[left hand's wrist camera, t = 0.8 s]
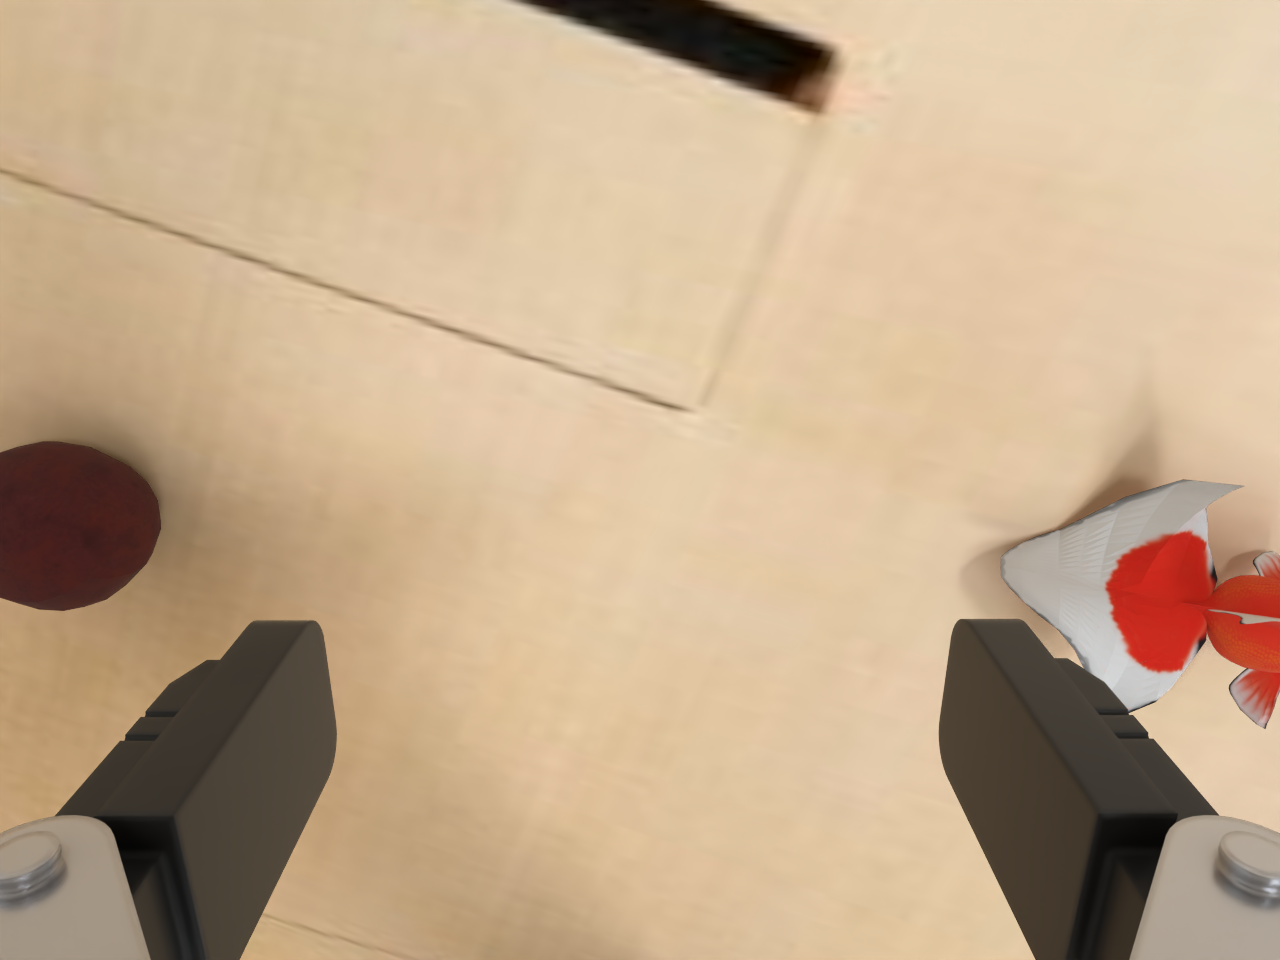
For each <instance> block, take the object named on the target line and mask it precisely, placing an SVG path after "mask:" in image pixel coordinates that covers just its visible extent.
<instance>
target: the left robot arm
mask: <svg viewBox="0 0 1280 960" xmlns="http://www.w3.org/2000/svg"><path fill="white" fill-rule="evenodd" d="M125 736H126V737H125V741H120V742H119V743H118V744H117V745H116V746H115V747H114V749H113V750H112V751H111V752H110V753H109V754H108V755H107V757H106V758H105V759H104V760H103V761H102V762H101V764H100V765H99V766H98V767H97V768H96V769H95V770H94V772H93V773H92V774H91V775H90V776H89V777H88V779H87V780H86V781H85V782H84V783H83V784H82V785H81V787H80V788H79V789H78V790H77V791H76V792H75V794H74V795H73V796H72V797H71V798H70V799H69V800H68V802H67V803H66V804H65V805H64V806H63V807H62V808H61V810H60V811H59V812H58V813H57V814H56V815H55V817H48V818H44V819H40V820H35V821H32V822H29V823H25V824H22V825H19V826H17V827H14V828H12V829H9V830H7V831H4V832H2V833H0V960H240V958H241V956H242V954H243V952H244V949H245V947H246V945H247V943H248V941H249V939H250V937H251V935H252V933H253V931H254V929H255V927H256V925H257V923H258V921H259V919H260V917H261V915H262V913H263V911H264V909H265V907H266V905H267V903H268V900H269V898H270V896H271V894H272V892H273V890H274V888H275V886H276V884H277V882H278V880H279V878H280V876H281V874H282V872H283V870H284V868H285V866H286V864H287V862H288V860H289V858H290V856H291V853H292V851H293V849H294V847H295V845H296V843H297V841H298V839H299V837H300V835H301V833H302V831H303V829H304V827H305V825H306V823H307V821H308V819H309V817H310V815H311V813H312V811H313V809H314V807H315V804H316V802H317V800H318V798H319V796H320V794H321V792H322V790H323V788H324V786H325V784H326V782H327V780H328V778H329V775H330V773H331V770H332V766H333V762H334V757H335V751H336V739H337V730H336V720H335V713H334V706H333V698H332V691H331V684H330V677H329V670H328V663H327V656H326V649H325V642H324V636H323V632H322V629H321V627H320V625H319V624H318V623H317V622H316V621H253V622H252V623H250V624H249V625H248V626H247V628H246V629H245V630H244V631H243V632H242V634H241V635H240V636H239V637H238V639H237V640H236V641H235V642H234V644H233V645H232V646H231V647H230V649H229V650H228V651H227V652H226V653H225V655H224V656H223V657H222V658H221V660H206V661H205V662H203V663H202V664H200V665H199V666H197V667H195V668H194V669H192V670H191V671H189V672H188V673H186V674H184V675H183V676H181V677H180V678H178V679H176V680H175V681H173V682H172V683H170V684H169V685H168V686H167V687H166V689H165V690H164V691H163V692H162V693H161V694H160V696H159V697H158V698H157V699H156V700H155V701H154V702H153V704H152V705H151V706H150V707H149V708H148V709H147V711H146V715H145V717H140V719H139V720H138V721H137V722H136V723H135V724H134V726H133V727H132V728H131V729H130V730H129V731H128V732H127V734H126V735H125ZM939 746H940V753H941V759H942V763H943V767H944V770H945V773H946V775H947V777H948V780H949V782H950V784H951V786H952V788H953V790H954V792H955V794H956V796H957V798H958V800H959V802H960V804H961V806H962V808H963V811H964V813H965V815H966V817H967V819H968V821H969V823H970V825H971V827H972V829H973V831H974V833H975V835H976V837H977V839H978V842H979V844H980V846H981V848H982V850H983V852H984V854H985V856H986V858H987V860H988V862H989V864H990V866H991V868H992V871H993V873H994V875H995V877H996V879H997V881H998V883H999V885H1000V887H1001V889H1002V891H1003V893H1004V895H1005V897H1006V899H1007V902H1008V904H1009V906H1010V908H1011V910H1012V912H1013V914H1014V916H1015V918H1016V920H1017V922H1018V924H1019V926H1020V928H1021V930H1022V933H1023V935H1024V937H1025V939H1026V941H1027V943H1028V945H1029V947H1030V949H1031V951H1032V953H1033V955H1034V957H1035V959H1036V960H1280V833H1278V832H1276V831H1273V830H1271V829H1268V828H1266V827H1263V826H1261V825H1258V824H1255V823H1251V822H1248V821H1245V820H1240V819H1236V818H1232V817H1225V816H1219V815H1218V813H1217V812H1216V811H1215V810H1214V809H1213V808H1212V806H1211V805H1210V804H1209V803H1208V802H1207V801H1206V799H1205V798H1204V797H1203V796H1202V795H1201V794H1200V792H1199V791H1198V790H1197V789H1196V788H1195V787H1194V785H1193V784H1192V783H1191V782H1190V781H1189V780H1188V778H1187V777H1186V776H1185V775H1184V774H1183V773H1182V772H1181V770H1180V769H1179V768H1178V767H1177V766H1176V765H1175V763H1174V762H1173V761H1172V760H1171V759H1170V758H1169V756H1168V755H1167V754H1166V753H1165V752H1164V751H1163V749H1162V748H1161V747H1160V746H1159V745H1158V744H1157V742H1156V741H1155V740H1154V739H1149V737H1148V732H1147V731H1146V730H1145V728H1144V727H1143V726H1142V725H1141V724H1140V723H1139V721H1138V720H1137V719H1136V718H1135V717H1134V716H1133V715H1129V714H1128V709H1127V708H1126V706H1125V705H1124V704H1123V703H1122V702H1121V701H1120V699H1119V698H1118V697H1117V696H1116V695H1115V694H1114V692H1113V691H1112V690H1111V689H1110V688H1109V687H1108V685H1107V684H1106V683H1105V682H1104V681H1102V680H1101V679H1099V678H1097V677H1096V676H1094V675H1093V674H1091V673H1090V672H1088V671H1086V670H1085V669H1083V668H1082V667H1080V666H1079V665H1077V664H1075V663H1074V662H1072V661H1071V660H1069V659H1068V658H1053V656H1052V655H1051V654H1050V653H1049V651H1048V650H1047V649H1046V648H1045V646H1044V645H1043V644H1042V643H1041V641H1040V640H1039V639H1038V638H1037V636H1036V635H1035V634H1034V633H1033V631H1032V630H1031V629H1030V628H1029V626H1028V625H1027V624H1026V623H1025V622H1024V621H1022V620H1020V619H960V620H959V621H957V623H956V624H955V626H954V628H953V632H952V636H951V642H950V649H949V656H948V664H947V671H946V678H945V685H944V692H943V700H942V707H941V714H940V722H939Z"/></svg>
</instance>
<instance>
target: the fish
mask: <svg viewBox="0 0 1280 960" xmlns="http://www.w3.org/2000/svg"><path fill="white" fill-rule="evenodd" d="M1241 487H1244V486H1240V485H1231V484H1221V483H1212V482H1203V481H1193V480H1184V479H1183V480H1180V481H1176V482H1173V483H1170V484H1166V485H1163V486H1160V487H1157V488H1153V489H1150V490H1147V491H1143V492H1140V493H1137V494H1134V495H1130V496H1127V497H1125V498H1123V499H1121V500H1118V501H1116V502H1114V503H1112V504H1110V505H1108V506H1106V507H1104V508H1102V509H1100V510H1098V511H1096V512H1094V513H1092V514H1090V515H1088V516H1086V517H1084V518H1082V519H1080V520H1078V521H1076V522H1074V523H1072V524H1070V525H1068V526H1066V527H1064V528H1062V529H1060V530H1057V531H1053V532H1050V533H1047V534H1043V535H1040V536H1037V537H1035V538H1033V539H1030V540H1028V541H1025V542H1023V543H1021V544H1019V545H1017V546H1015V547H1014V548H1012V549H1010V550H1008V551H1007V552H1006V553H1005V554H1004V555H1003V556H1002V557H1001V577H1002V578H1003V580H1004V581H1005V582H1006V584H1007V585H1008V586H1009V588H1010V589H1011V590H1012V591H1013V592H1014V593H1015V594H1016V595H1017V596H1018V597H1019V598H1020V599H1021V600H1022V601H1023V602H1025V603H1026V604H1027V605H1028V606H1029V607H1030V608H1031V609H1033V610H1034V611H1035V612H1036V613H1037V614H1038V615H1039V616H1041V617H1042V618H1043V619H1045V620H1046V621H1047V622H1048V623H1050V624H1051V625H1052V626H1054V627H1055V628H1056V629H1058V630H1059V631H1060V633H1061V634H1062V635H1063V636H1064V638H1065V639H1066V640H1067V641H1068V642H1069V644H1070V645H1071V646H1072V647H1073V648H1074V650H1075V652H1076V654H1077V656H1078V658H1079V660H1080V662H1081V664H1082V665H1083V667H1084V669H1085V670H1086V671H1088V672H1090V673H1091V674H1093V675H1094V676H1096V677H1097V678H1099V679H1101V680H1102V681H1104V682H1105V683H1106V684H1107V685H1108V687H1109V688H1110V689H1111V690H1112V691H1113V692H1114V694H1115V695H1116V696H1117V697H1118V698H1119V699H1120V701H1121V702H1122V703H1123V704H1124V705H1125V706H1126V708H1127V709H1128V713H1130V712H1133V711H1135V710H1137V709H1140V708H1142V707H1145V706H1147V705H1150V704H1152V703H1154V702H1156V701H1157V700H1158V699H1159V698H1160V697H1161V696H1163V695H1164V694H1165V693H1166V692H1167V691H1168V690H1169V689H1170V688H1171V687H1172V686H1173V685H1174V684H1175V682H1176V681H1177V680H1178V678H1179V677H1180V676H1181V675H1182V673H1183V672H1184V671H1185V669H1186V668H1187V666H1188V665H1189V664H1190V662H1191V661H1192V660H1193V658H1194V657H1195V655H1196V654H1197V653H1198V651H1199V650H1200V648H1201V647H1202V645H1203V644H1204V643H1205V641H1206V634H1207V633H1208V637H1209V639H1210V641H1211V643H1212V645H1213V646H1214V648H1215V649H1216V651H1217V652H1218V653H1219V654H1220V655H1222V656H1223V657H1224V658H1226V659H1228V660H1229V661H1231V662H1233V663H1235V664H1237V665H1240V666H1242V667H1245V668H1247V669H1245V670H1244V671H1243V672H1242V673H1241V674H1239V675H1238V676H1237V677H1236V678H1235V679H1234V680H1233V681H1232V682H1231V684H1230V685H1229V691H1230V694H1231V695H1232V697H1233V699H1234V700H1235V702H1236V704H1237V705H1238V707H1239V708H1240V710H1241V711H1242V712H1244V713H1245V714H1246V715H1247V716H1248V717H1249V718H1250V719H1251V720H1252V721H1253V722H1255V723H1256V724H1257V725H1259V726H1261V727H1263V728H1264V729H1266V725H1267V723H1268V721H1269V719H1270V717H1271V714H1272V712H1273V709H1274V707H1275V703H1276V699H1277V697H1278V695H1279V692H1280V555H1278V554H1277V553H1275V552H1273V551H1270V552H1264V553H1262V554H1260V555H1259V556H1257V557H1256V558H1255V559H1254V560H1253V564H1254V566H1255V567H1256V569H1257V571H1258V573H1259V575H1260V576H1257V575H1244V576H1238V577H1234V578H1232V579H1229V580H1227V581H1225V582H1224V583H1222V584H1221V585H1220V586H1218V587H1217V588H1216V589H1215V585H1216V582H1217V576H1216V572H1215V568H1214V564H1213V560H1212V556H1211V552H1210V548H1209V544H1208V521H1207V512H1206V507H1207V506H1208V505H1209V504H1211V503H1212V502H1214V501H1215V500H1217V499H1219V498H1220V497H1222V496H1224V495H1226V494H1227V493H1229V492H1231V491H1233V490H1236V489H1238V488H1241ZM1214 589H1215V590H1214Z"/></svg>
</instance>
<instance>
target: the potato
mask: <svg viewBox="0 0 1280 960" xmlns="http://www.w3.org/2000/svg"><path fill="white" fill-rule="evenodd" d="M160 530H161V520H160V513H159V505H158V500H157V498H156V497H155V495H154V493H153V491H152V490H151V488H150V486H149V485H148V483H147V482H146V481H145V480H144V479H143V478H142V477H141V476H140V475H139V474H137V473H136V472H135V471H134V470H133V469H132V468H131V467H130V466H128V465H126V464H124V463H122V462H120V461H118V460H116V459H114V458H112V457H109V456H107V455H105V454H103V453H101V452H99V451H97V450H95V449H93V448H91V447H86V446H80V445H74V444H69V443H63V442H39V443H34V444H29V445H25V446H20V447H16V448H13V449H10V450H7V451H4V452H1V453H0V598H3V599H6V600H9V601H13V602H16V603H19V604H22V605H26V606H29V607H33V608H36V609H42V610H58V611H65V610H70V609H75V608H80V607H85V606H88V605H91V604H94V603H97V602H100V601H103V600H106V599H108V598H109V597H110V596H112V595H113V594H114V593H116V592H117V591H119V590H120V589H121V588H123V587H124V586H125V585H126V584H127V583H128V582H129V581H130V580H131V579H132V578H133V577H134V576H135V575H136V574H137V573H138V572H139V571H140V570H141V569H142V568H143V567H144V566H145V565H146V564H147V562H148V560H149V558H150V557H151V555H152V553H153V550H154V547H155V544H156V541H157V539H158V536H159V533H160Z"/></svg>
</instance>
